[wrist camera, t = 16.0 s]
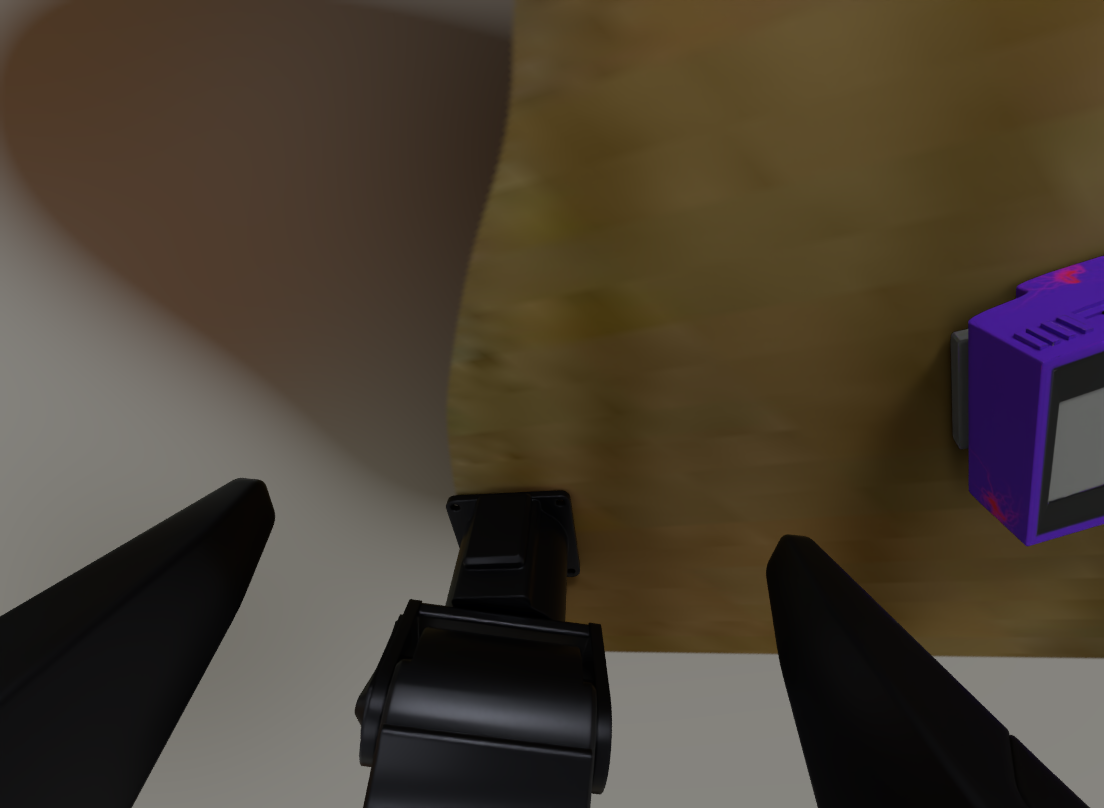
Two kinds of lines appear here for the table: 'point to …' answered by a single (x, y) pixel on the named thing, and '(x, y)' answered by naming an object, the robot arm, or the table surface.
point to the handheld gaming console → (1036, 404)
